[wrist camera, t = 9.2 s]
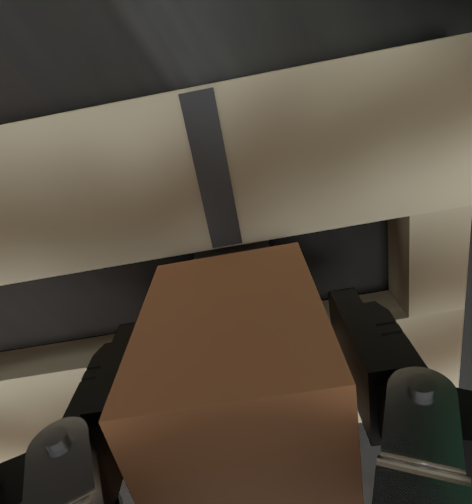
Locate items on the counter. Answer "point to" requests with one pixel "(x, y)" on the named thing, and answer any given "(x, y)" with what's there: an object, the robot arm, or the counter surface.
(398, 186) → the board
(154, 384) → the fader knob
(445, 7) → the counter surface
